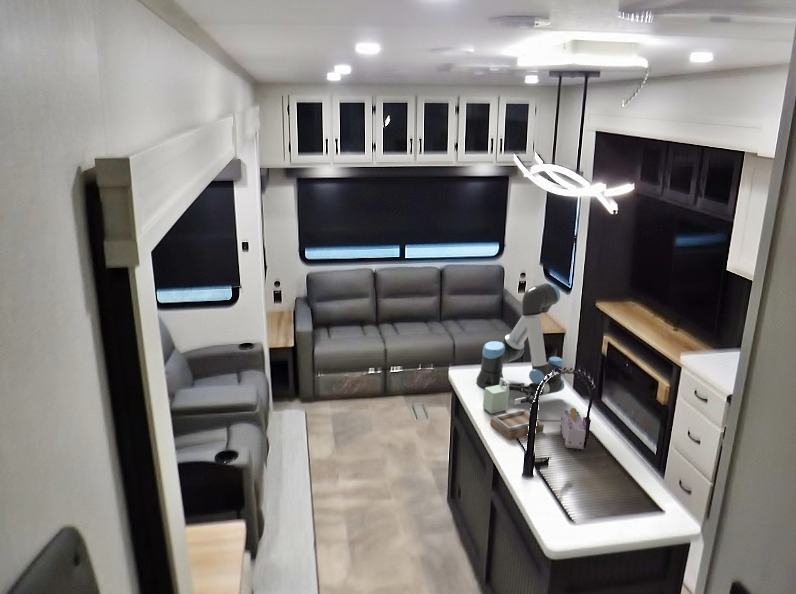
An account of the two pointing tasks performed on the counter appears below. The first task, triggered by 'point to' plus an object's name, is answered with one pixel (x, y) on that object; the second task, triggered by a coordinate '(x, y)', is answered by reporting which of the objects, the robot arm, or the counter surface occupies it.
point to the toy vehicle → (573, 429)
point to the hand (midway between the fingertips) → (506, 396)
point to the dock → (514, 424)
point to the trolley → (496, 397)
